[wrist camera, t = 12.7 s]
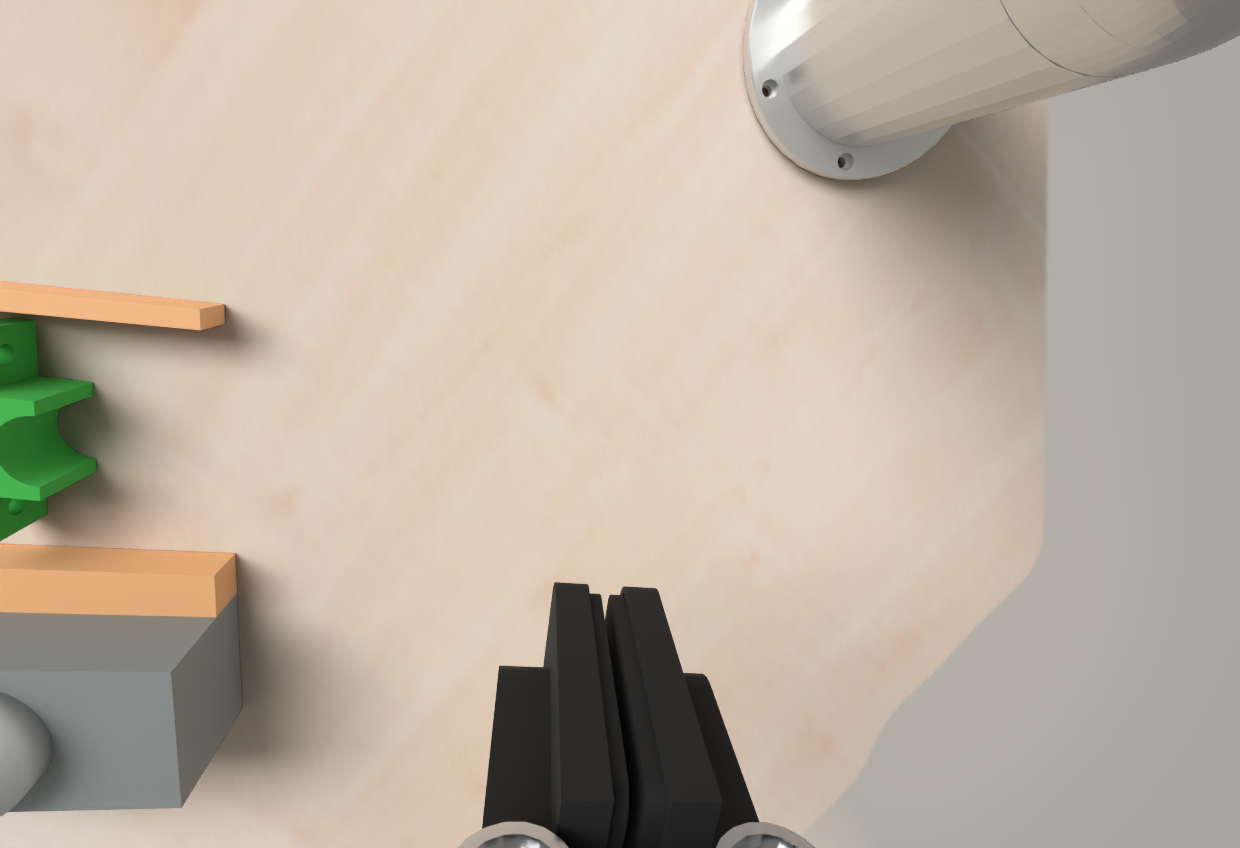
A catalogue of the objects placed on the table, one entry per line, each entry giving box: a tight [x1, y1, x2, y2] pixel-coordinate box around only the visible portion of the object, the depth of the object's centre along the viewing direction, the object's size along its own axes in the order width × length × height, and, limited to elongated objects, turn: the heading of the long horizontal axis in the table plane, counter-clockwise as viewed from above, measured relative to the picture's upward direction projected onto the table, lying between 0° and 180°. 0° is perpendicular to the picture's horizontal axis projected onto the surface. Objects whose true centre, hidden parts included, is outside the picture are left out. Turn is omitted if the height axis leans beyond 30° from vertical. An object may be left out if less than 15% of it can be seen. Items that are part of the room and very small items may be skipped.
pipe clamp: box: [0, 317, 97, 541], centre depth 30 cm, size 10×4×4 cm, turn 170°
